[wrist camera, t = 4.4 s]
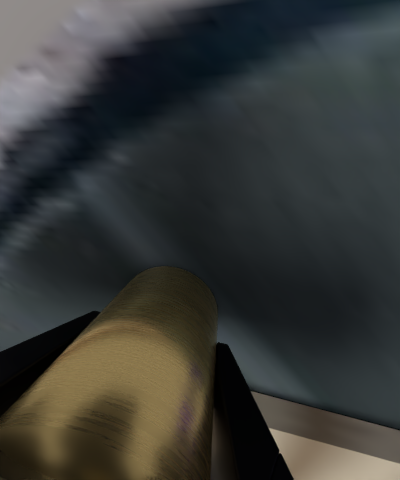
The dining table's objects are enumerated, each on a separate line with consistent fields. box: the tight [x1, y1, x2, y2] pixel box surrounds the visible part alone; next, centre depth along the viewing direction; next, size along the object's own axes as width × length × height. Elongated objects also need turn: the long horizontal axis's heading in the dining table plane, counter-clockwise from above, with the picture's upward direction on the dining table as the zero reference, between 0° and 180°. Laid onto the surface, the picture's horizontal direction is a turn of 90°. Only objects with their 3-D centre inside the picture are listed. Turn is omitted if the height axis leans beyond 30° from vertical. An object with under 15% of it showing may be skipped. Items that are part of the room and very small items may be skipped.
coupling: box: [0, 266, 218, 480], centre depth 6 cm, size 5×5×6 cm
